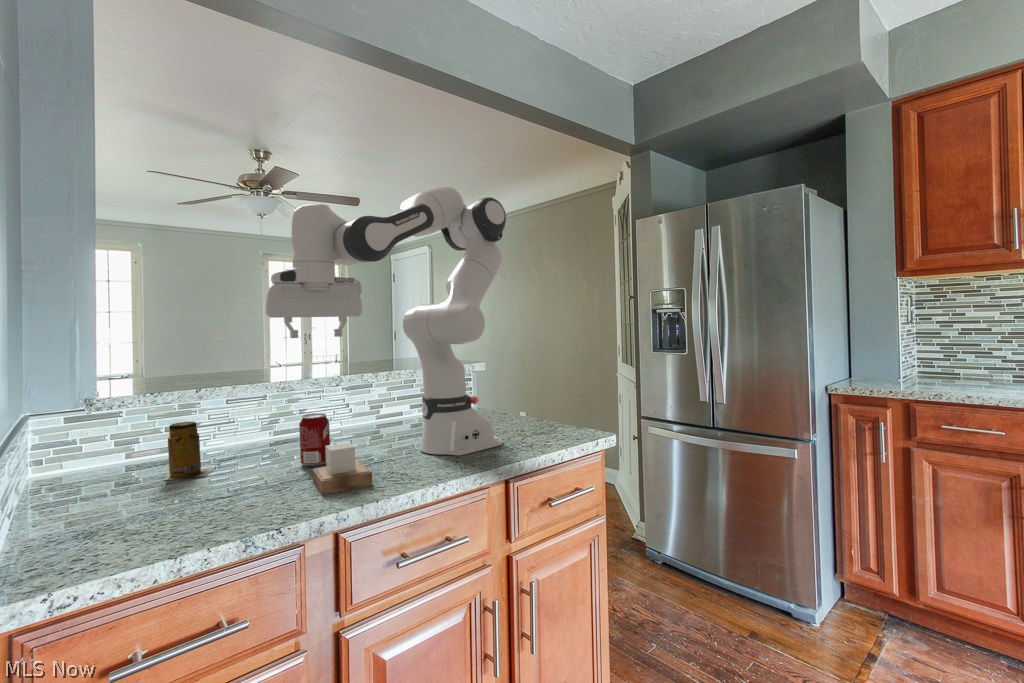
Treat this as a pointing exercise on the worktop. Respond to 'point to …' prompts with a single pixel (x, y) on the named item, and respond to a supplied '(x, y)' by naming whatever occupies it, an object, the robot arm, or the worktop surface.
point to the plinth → (342, 479)
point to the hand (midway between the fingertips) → (316, 337)
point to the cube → (340, 458)
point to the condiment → (184, 452)
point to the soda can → (314, 439)
